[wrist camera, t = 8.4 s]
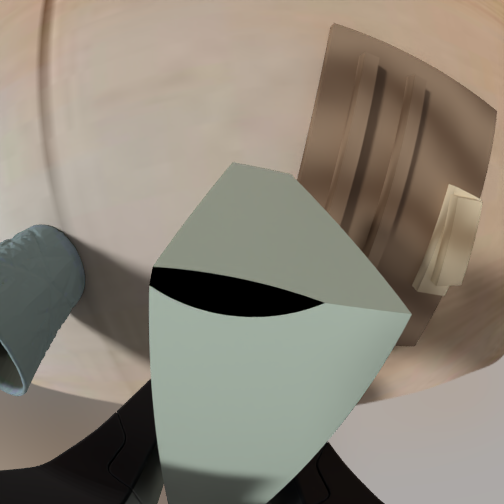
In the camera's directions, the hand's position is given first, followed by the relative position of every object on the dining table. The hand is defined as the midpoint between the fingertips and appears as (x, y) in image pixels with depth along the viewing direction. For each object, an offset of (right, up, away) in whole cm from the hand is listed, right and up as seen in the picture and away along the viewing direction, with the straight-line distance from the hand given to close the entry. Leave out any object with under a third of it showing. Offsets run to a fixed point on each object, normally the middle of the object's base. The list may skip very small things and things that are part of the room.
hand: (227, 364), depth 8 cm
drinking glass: (-18, +2, +14) cm, 23 cm away
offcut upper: (+17, +4, +10) cm, 20 cm away
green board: (0, +2, +3) cm, 3 cm away
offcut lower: (+17, +4, +11) cm, 21 cm away
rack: (+12, +7, +11) cm, 17 cm away
